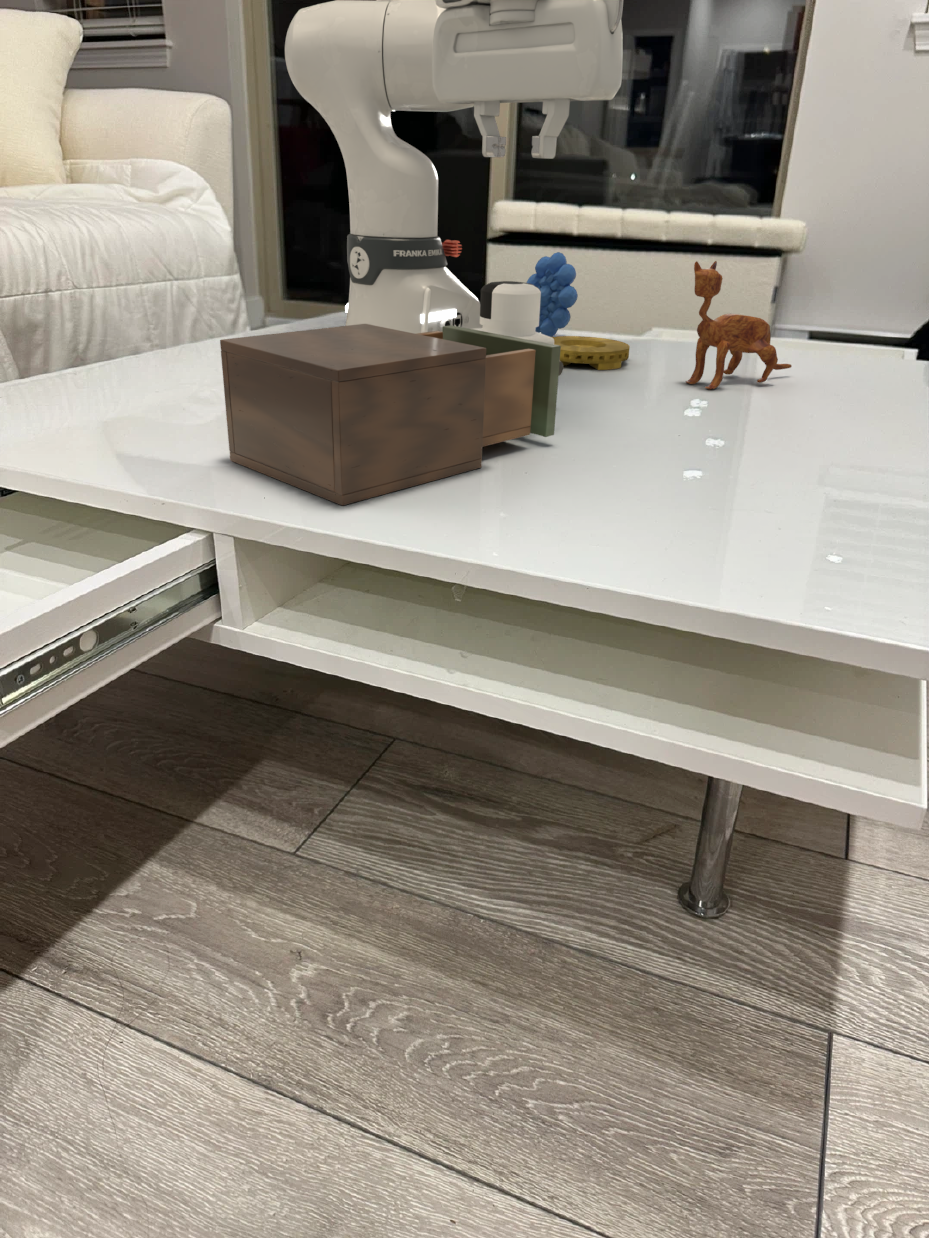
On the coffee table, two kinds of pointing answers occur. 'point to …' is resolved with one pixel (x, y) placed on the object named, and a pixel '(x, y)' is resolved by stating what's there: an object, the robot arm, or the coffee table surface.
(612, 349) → the golden round trivet
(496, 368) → the drawer
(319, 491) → the cabinet
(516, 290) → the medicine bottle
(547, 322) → the grapes
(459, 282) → the robot arm
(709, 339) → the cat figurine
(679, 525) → the coffee table surface
